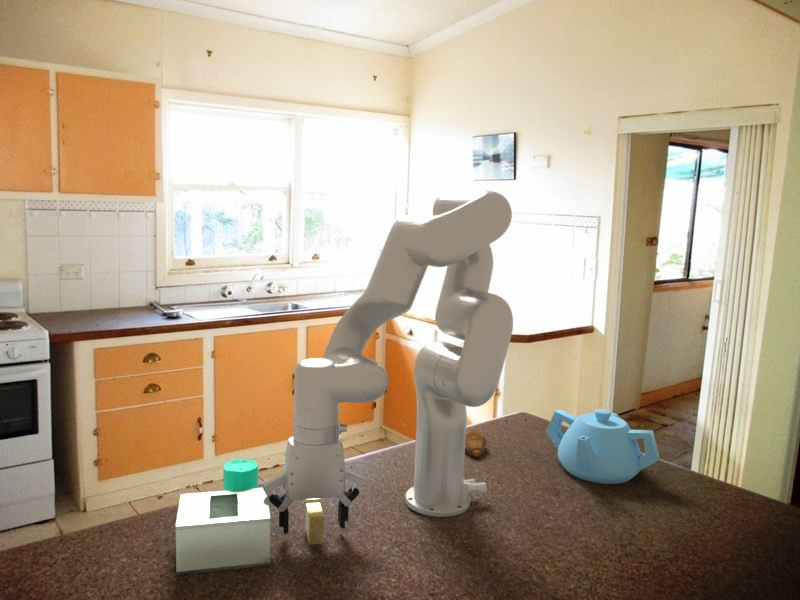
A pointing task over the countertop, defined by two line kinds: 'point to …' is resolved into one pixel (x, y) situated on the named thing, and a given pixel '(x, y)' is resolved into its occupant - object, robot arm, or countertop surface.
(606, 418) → the teapot
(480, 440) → the croissant
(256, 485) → the candle
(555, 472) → the countertop surface
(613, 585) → the countertop surface
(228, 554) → the coin box
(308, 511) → the block
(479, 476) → the countertop surface
